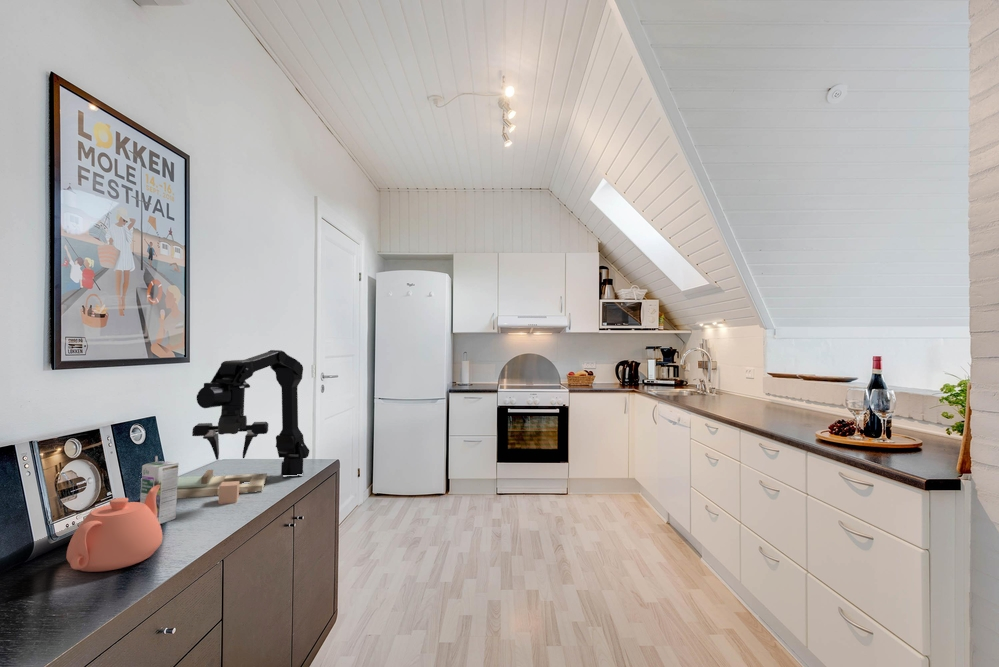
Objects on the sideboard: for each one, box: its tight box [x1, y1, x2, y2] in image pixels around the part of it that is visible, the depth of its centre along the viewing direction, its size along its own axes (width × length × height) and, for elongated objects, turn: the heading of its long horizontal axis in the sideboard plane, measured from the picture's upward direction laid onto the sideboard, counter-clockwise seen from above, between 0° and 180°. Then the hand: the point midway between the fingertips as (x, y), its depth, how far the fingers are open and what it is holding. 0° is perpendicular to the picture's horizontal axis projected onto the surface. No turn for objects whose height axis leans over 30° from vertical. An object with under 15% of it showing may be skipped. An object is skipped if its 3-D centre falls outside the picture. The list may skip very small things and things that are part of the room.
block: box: [218, 481, 240, 505], centre depth 140 cm, size 4×4×5 cm
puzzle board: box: [177, 472, 268, 499], centre depth 152 cm, size 24×15×2 cm, turn 111°
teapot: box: [66, 485, 163, 573], centre depth 102 cm, size 22×16×12 cm
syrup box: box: [139, 460, 180, 525], centre depth 123 cm, size 6×6×14 cm
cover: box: [177, 469, 214, 488], centre depth 149 cm, size 11×11×3 cm
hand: (230, 458), depth 140 cm, fingers open, 6 cm apart
